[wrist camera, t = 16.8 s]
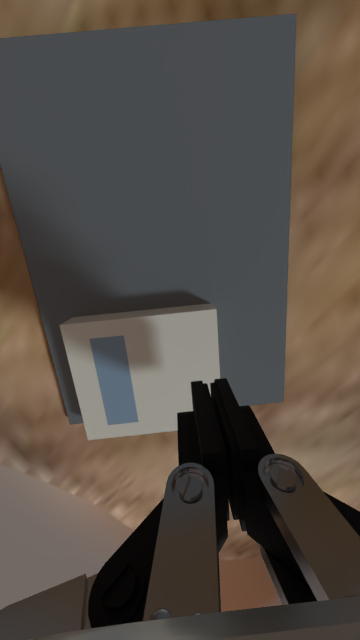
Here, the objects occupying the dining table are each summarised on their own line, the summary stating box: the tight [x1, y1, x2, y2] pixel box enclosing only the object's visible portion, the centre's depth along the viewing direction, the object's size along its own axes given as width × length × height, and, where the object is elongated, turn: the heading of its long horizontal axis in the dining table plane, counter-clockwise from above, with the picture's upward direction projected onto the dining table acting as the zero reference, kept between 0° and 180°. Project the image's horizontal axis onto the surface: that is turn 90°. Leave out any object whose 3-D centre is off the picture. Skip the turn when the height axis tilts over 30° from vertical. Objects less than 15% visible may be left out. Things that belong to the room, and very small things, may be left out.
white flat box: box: [60, 303, 220, 440], centre depth 15 cm, size 8×2×9 cm
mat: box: [0, 14, 296, 424], centre depth 14 cm, size 22×16×1 cm
